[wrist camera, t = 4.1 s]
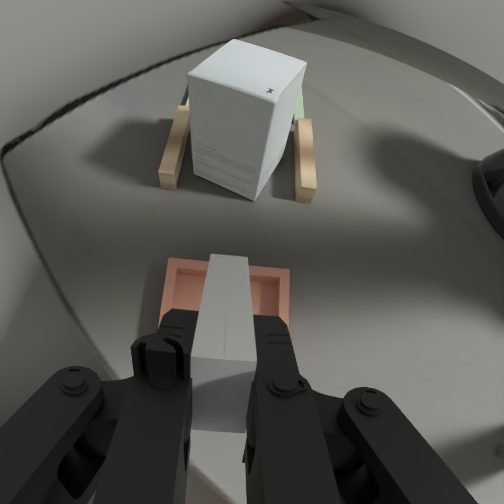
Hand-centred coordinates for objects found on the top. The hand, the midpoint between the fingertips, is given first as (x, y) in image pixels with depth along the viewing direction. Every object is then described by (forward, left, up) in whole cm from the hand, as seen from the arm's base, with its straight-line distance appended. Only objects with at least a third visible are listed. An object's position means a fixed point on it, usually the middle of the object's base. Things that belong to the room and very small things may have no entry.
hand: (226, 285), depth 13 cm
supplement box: (-13, -13, -14) cm, 23 cm away
